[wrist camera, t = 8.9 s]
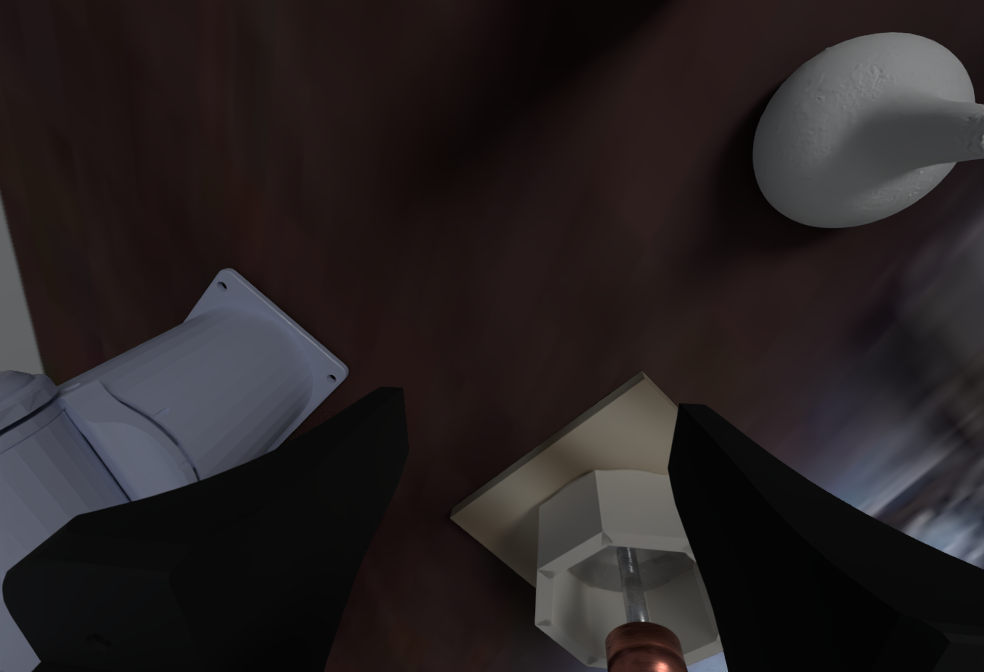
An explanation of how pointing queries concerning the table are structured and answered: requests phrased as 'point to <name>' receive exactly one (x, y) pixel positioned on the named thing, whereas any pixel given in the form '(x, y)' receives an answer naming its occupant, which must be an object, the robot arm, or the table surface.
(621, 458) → the board
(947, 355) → the table surface
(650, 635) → the plunger
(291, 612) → the robot arm
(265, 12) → the table surface
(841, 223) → the garlic bulb
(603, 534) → the press carafe
